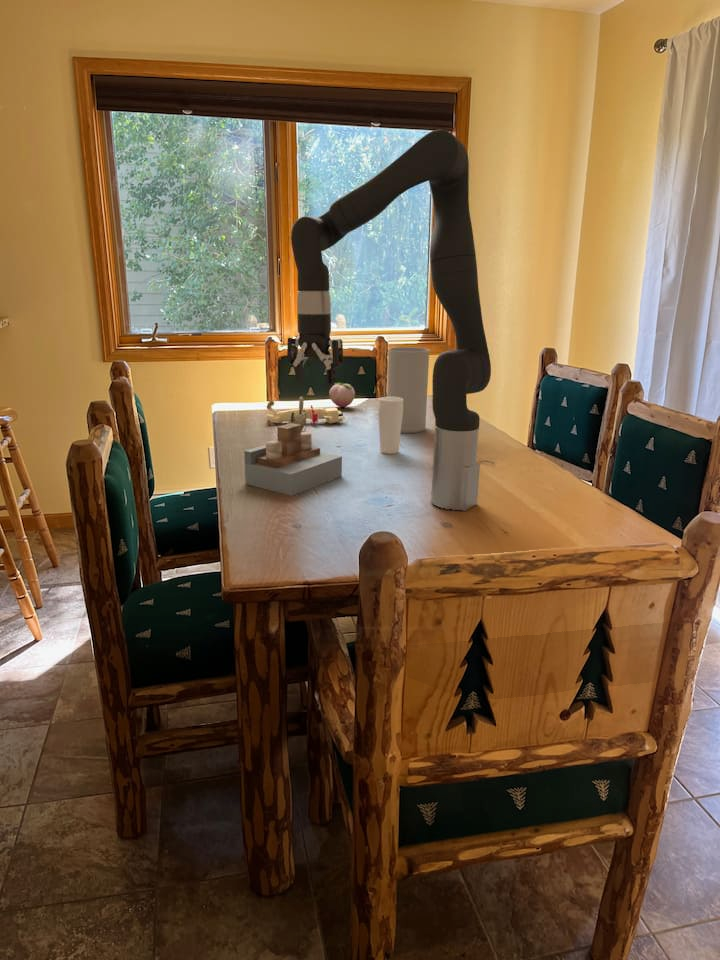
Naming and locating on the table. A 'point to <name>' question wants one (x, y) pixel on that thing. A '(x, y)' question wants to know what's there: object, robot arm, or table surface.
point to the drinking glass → (390, 423)
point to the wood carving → (299, 416)
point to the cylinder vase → (409, 384)
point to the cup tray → (288, 447)
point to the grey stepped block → (291, 472)
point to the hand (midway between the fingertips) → (315, 384)
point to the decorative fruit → (342, 394)
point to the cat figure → (314, 414)
